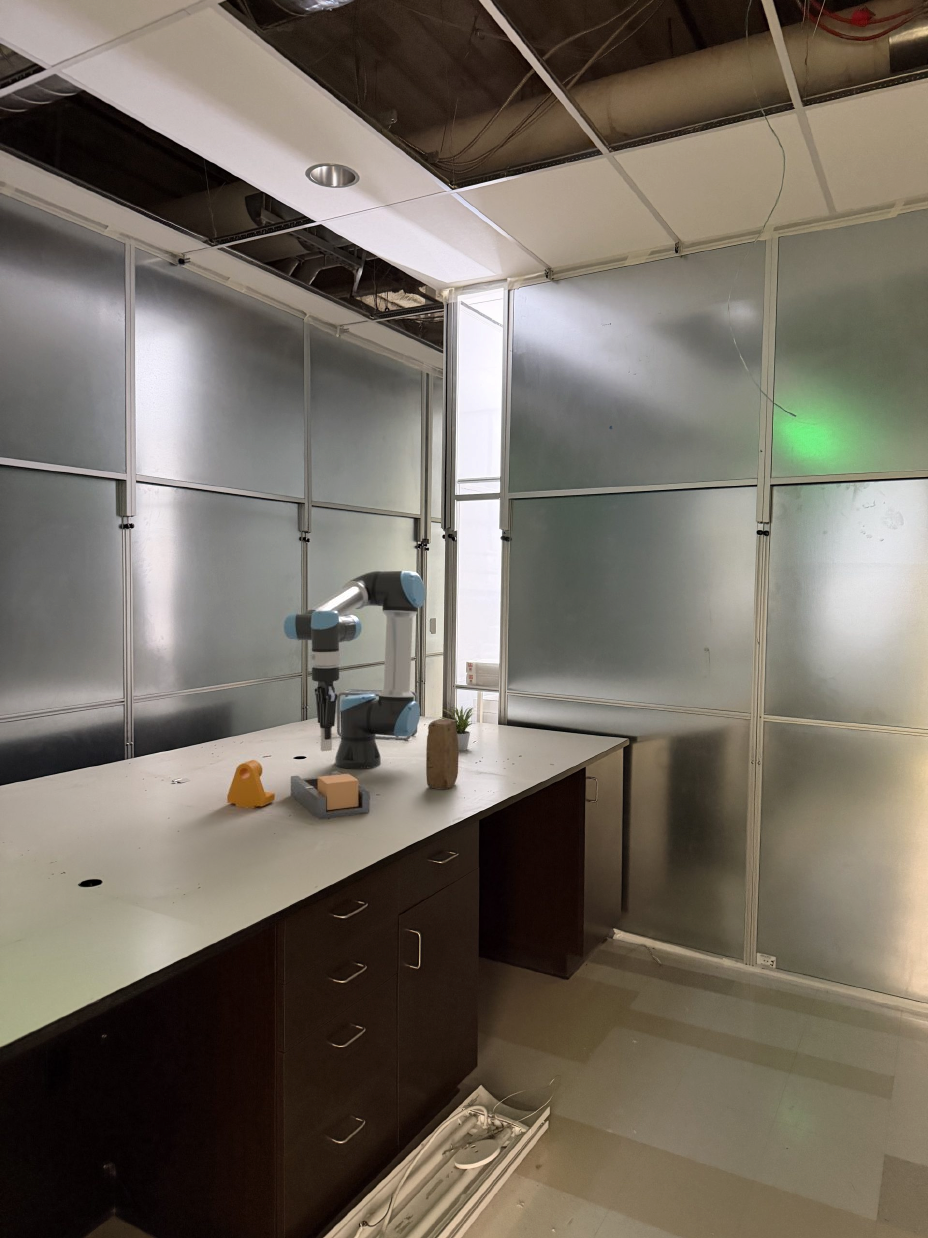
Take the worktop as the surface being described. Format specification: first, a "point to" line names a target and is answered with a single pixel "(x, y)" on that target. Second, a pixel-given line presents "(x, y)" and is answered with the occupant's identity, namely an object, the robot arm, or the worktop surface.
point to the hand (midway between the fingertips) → (326, 750)
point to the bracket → (249, 787)
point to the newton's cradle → (348, 692)
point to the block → (442, 754)
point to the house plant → (462, 727)
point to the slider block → (339, 791)
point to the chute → (316, 802)
